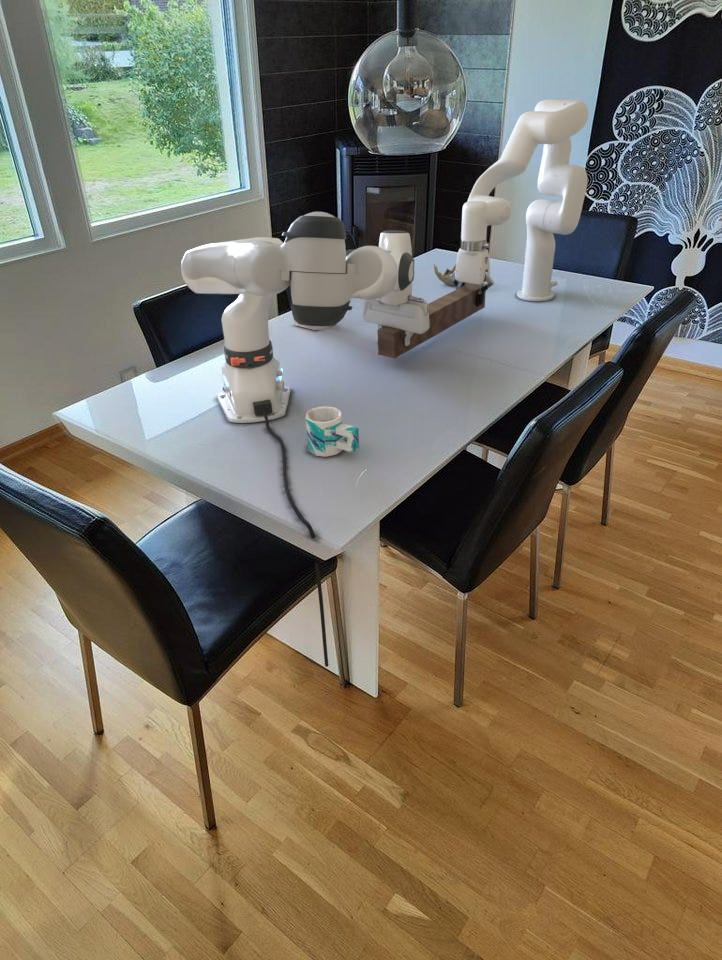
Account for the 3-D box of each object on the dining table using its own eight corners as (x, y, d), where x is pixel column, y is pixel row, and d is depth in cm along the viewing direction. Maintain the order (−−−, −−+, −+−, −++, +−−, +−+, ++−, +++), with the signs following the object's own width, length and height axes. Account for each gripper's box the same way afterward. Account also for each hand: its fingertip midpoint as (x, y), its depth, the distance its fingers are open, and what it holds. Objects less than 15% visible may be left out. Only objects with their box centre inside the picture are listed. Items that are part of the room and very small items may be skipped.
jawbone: (424, 270, 248) (439, 245, 244) (454, 288, 255) (469, 265, 252) (433, 277, 241) (449, 253, 237) (463, 297, 248) (480, 273, 245)
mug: (322, 435, 155) (320, 402, 150) (366, 448, 149) (365, 414, 145) (301, 451, 149) (297, 417, 145) (345, 465, 144) (343, 430, 139)
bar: (394, 358, 183) (394, 333, 179) (377, 354, 186) (377, 329, 182) (484, 307, 216) (486, 284, 212) (469, 304, 219) (470, 282, 215)
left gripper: (434, 296, 175) (433, 346, 183) (372, 284, 186) (373, 331, 193) (421, 302, 171) (420, 353, 178) (358, 290, 182) (359, 338, 189)
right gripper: (504, 245, 201) (500, 304, 211) (455, 239, 210) (453, 295, 220) (492, 251, 196) (488, 311, 206) (442, 244, 205) (440, 302, 215)
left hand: (395, 342), depth 186 cm, fingers closed on bar, 5 cm apart
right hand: (470, 303), depth 213 cm, fingers closed on bar, 5 cm apart
